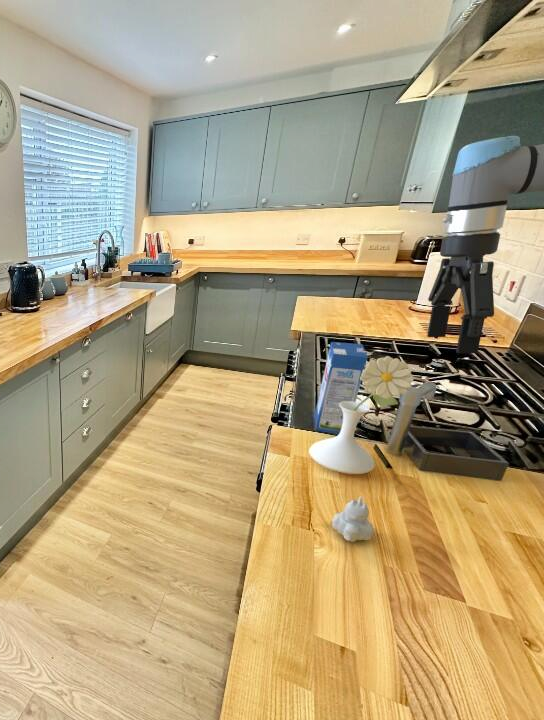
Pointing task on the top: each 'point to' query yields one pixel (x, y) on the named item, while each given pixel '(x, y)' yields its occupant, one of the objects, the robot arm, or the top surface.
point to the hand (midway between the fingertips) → (450, 344)
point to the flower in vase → (343, 449)
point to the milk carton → (339, 384)
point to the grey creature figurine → (354, 521)
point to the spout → (418, 394)
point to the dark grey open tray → (479, 466)
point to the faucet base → (398, 433)
